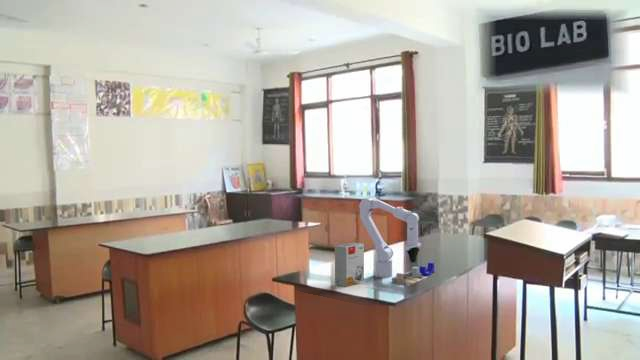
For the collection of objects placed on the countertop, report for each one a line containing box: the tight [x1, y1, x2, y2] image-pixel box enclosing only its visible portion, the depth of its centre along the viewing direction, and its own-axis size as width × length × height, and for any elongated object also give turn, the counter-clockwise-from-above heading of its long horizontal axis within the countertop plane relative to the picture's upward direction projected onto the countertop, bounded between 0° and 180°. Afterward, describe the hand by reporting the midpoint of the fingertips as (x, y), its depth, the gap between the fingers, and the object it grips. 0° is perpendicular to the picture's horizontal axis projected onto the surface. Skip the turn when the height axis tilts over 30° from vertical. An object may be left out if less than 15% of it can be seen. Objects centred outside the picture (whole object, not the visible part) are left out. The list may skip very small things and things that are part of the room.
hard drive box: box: [334, 242, 365, 288], centre depth 256 cm, size 16×8×20 cm, turn 138°
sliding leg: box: [411, 266, 421, 279], centre depth 262 cm, size 3×5×5 cm, turn 51°
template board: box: [391, 270, 428, 287], centre depth 257 cm, size 22×10×6 cm, turn 141°
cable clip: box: [418, 261, 435, 277], centre depth 269 cm, size 12×4×6 cm, turn 143°
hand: (412, 262), depth 260 cm, fingers closed
